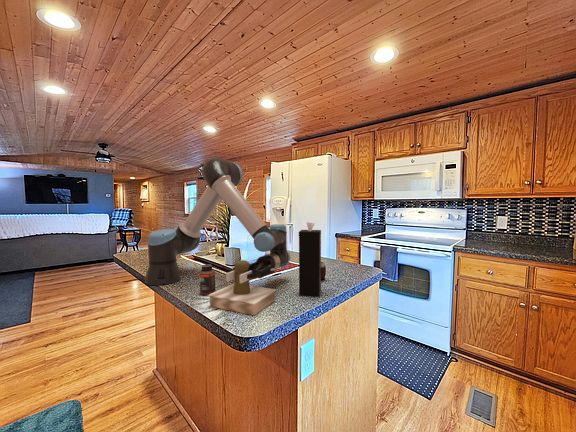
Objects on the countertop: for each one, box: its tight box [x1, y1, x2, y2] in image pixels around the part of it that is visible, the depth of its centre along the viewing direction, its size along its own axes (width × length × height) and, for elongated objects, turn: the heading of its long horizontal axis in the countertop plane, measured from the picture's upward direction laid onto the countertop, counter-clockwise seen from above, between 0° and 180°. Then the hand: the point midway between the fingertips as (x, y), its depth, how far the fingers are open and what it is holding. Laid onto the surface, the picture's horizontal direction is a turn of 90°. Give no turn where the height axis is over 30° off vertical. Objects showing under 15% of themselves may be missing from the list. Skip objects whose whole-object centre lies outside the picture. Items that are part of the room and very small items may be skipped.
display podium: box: [207, 283, 277, 316], centre depth 94 cm, size 19×15×4 cm
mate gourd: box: [321, 261, 327, 281], centre depth 122 cm, size 8×8×15 cm
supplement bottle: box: [198, 263, 217, 296], centre depth 104 cm, size 6×6×11 cm
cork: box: [233, 259, 251, 294], centre depth 94 cm, size 6×6×11 cm
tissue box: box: [298, 222, 322, 297], centre depth 104 cm, size 8×8×28 cm
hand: (233, 278), depth 89 cm, fingers open, 5 cm apart
